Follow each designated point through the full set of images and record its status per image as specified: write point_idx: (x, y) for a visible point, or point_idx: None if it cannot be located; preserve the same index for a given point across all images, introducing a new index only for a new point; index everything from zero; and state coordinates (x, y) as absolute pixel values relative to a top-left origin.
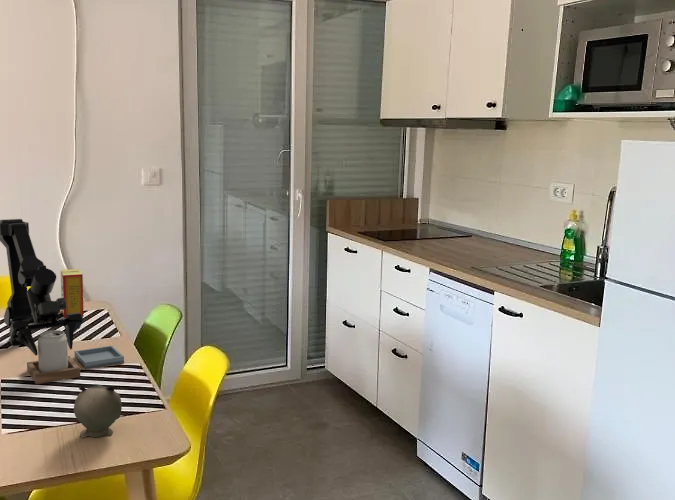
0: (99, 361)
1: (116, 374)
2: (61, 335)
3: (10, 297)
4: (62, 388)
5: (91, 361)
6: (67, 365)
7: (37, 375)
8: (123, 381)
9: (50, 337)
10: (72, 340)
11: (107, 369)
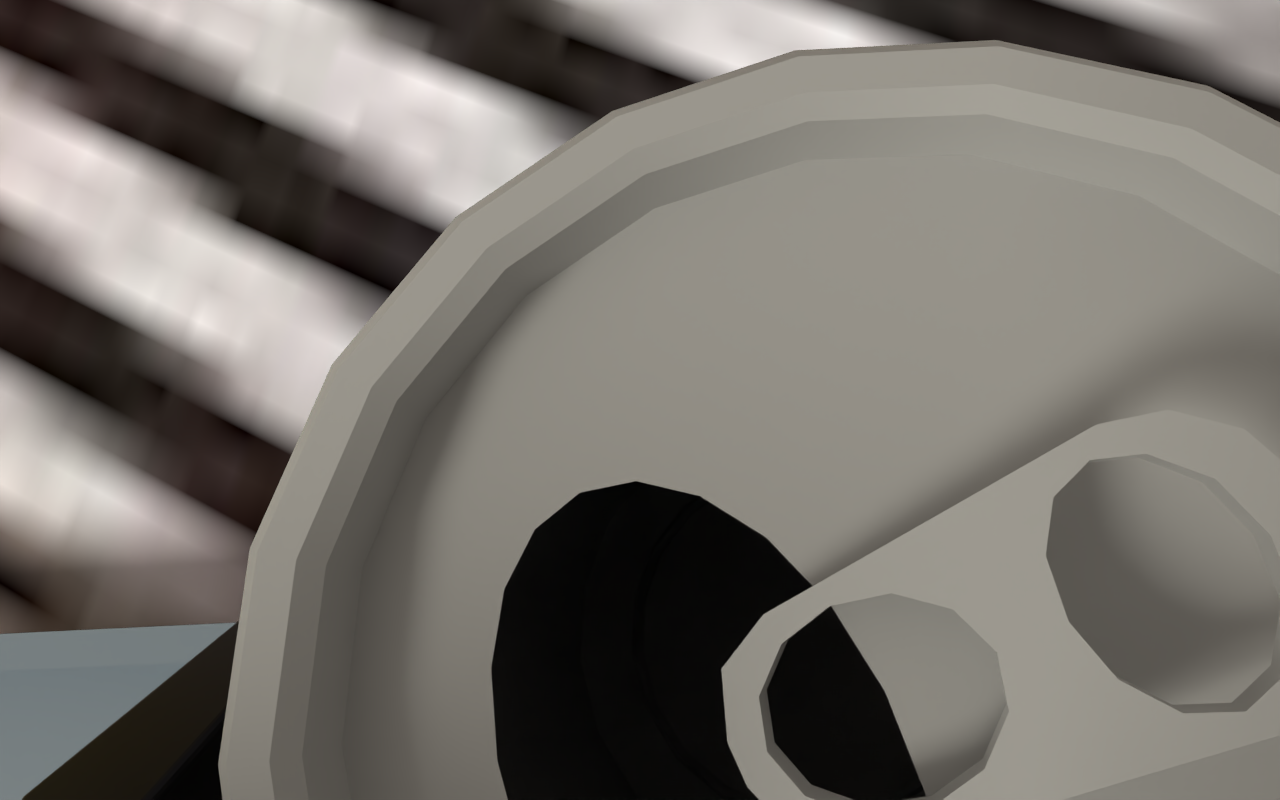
0: (74, 632)
1: (80, 253)
2: (498, 191)
3: None
4: (777, 37)
5: (179, 632)
6: (578, 551)
7: None
8: (109, 16)
9: (1082, 61)
10: (179, 681)
11: (96, 478)
